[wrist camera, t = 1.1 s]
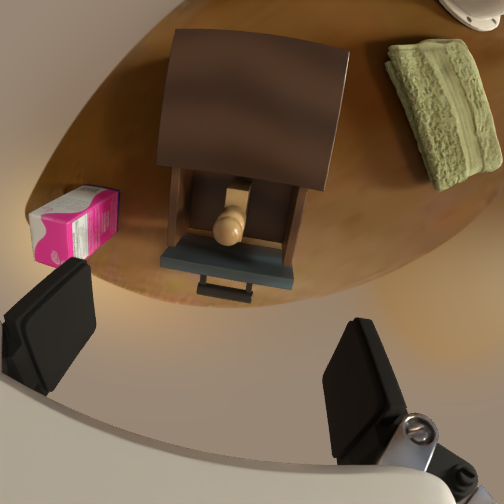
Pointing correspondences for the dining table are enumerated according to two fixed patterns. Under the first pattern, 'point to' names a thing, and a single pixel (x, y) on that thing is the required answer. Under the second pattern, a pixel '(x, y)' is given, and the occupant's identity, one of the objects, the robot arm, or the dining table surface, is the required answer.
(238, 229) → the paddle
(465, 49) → the washcloth
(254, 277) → the drawer
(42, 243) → the supplement box
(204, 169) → the cabinet
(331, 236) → the dining table surface
